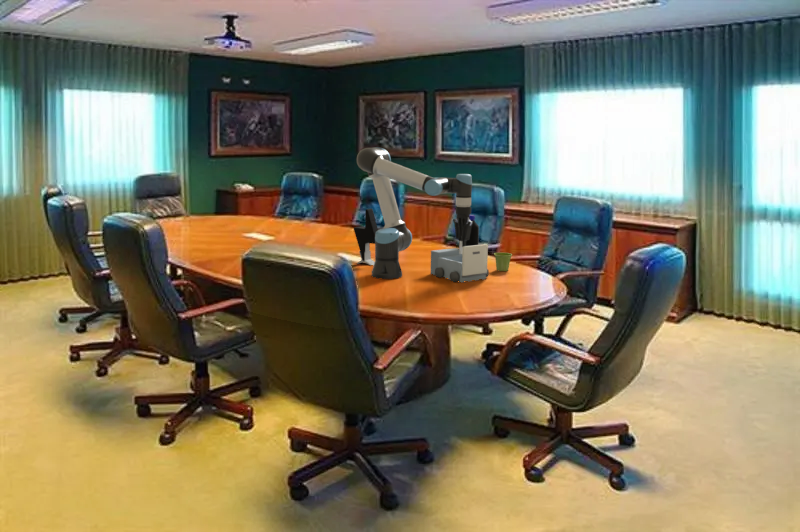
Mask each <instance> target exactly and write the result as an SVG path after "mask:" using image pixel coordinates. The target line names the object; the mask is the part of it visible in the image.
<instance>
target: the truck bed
mask: <svg viewBox="0 0 800 532" xmlns="http://www.w3.org/2000/svg"><path fill="white" fill-rule="evenodd" d="M432 274H433V275H432ZM489 274H490V272H489V269H488V268H487V274H486V275H479V276H471V277H464V278H462V254H459V248H457V247H454V248H445V249H444V248H443V249H434V250H430V275H432V276H435V277H436V278H437V277H439V278H443V277H445V278H444V279H446V278H448V279H447V280H450V281H451V282H452V281H453V282H452V283H455V282H456V283H460V282H461V283H465V282H464V281H468V282H473V281H472V280H475V281H480V280H479V279H482V280H486V279H487V278H488V277H489ZM457 281H459V282H457Z"/></svg>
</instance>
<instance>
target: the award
mask: <svg viewBox="0 0 800 532" xmlns="http://www.w3.org/2000/svg"><path fill="white" fill-rule="evenodd" d="M364 214H365V219H364V226H356V227H355V226H354V227H353V232H354V235H355V239H356V242H357V245H358V247H359V248H358V249H359V252H358V253H359V255H360V259H361V260H360V261H358V262H357V264H358V265H359V264H361V263H365V264H366V265H369V266H371V265H373V266H374V263H375V260H373V259H372V257H371V256H372V253H371V249H370V246H371V245H370V244H372V245H373V244H374V245H375V234H376V231H378V230H379V228H378V225H377V221H376V217H375V213H374V210H373V208H366V209H365V213H364Z"/></svg>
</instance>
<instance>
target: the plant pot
mask: <svg viewBox="0 0 800 532" xmlns="http://www.w3.org/2000/svg"><path fill="white" fill-rule="evenodd" d="M493 255H494V258H495V267H496V268H495V269H496V271H498V270H499V271H498V272H508V271H509V268H510V263H511V258H512V256H513V254H512V253H509V252H494V253H493Z"/></svg>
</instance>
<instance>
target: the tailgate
mask: <svg viewBox="0 0 800 532" xmlns="http://www.w3.org/2000/svg"><path fill="white" fill-rule="evenodd" d="M488 252H489V245H488V244H487V243H484V244H478V245H473V246H464V247H463V254H462V278H464V277H471V276H479V275H486V274H487V269H488V257H489V256H488V254H489V253H488Z"/></svg>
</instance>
